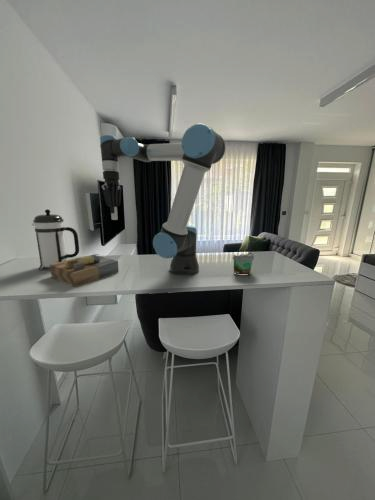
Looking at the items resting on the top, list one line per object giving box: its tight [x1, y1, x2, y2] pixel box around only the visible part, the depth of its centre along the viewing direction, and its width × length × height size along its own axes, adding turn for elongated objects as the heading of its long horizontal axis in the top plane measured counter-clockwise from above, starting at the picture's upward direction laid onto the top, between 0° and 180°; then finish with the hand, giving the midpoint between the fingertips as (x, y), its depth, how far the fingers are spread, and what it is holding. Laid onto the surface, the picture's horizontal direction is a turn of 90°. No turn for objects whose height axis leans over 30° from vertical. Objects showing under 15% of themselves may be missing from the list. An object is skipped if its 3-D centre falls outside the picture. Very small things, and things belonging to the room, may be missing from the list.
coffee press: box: [31, 209, 80, 271], centre depth 109 cm, size 17×16×30 cm
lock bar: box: [64, 254, 100, 268], centre depth 96 cm, size 15×4×3 cm, turn 138°
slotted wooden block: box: [49, 254, 120, 287], centre depth 101 cm, size 20×22×9 cm
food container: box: [232, 251, 255, 275], centre depth 105 cm, size 12×6×10 cm, turn 123°
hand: (114, 219), depth 109 cm, fingers closed
